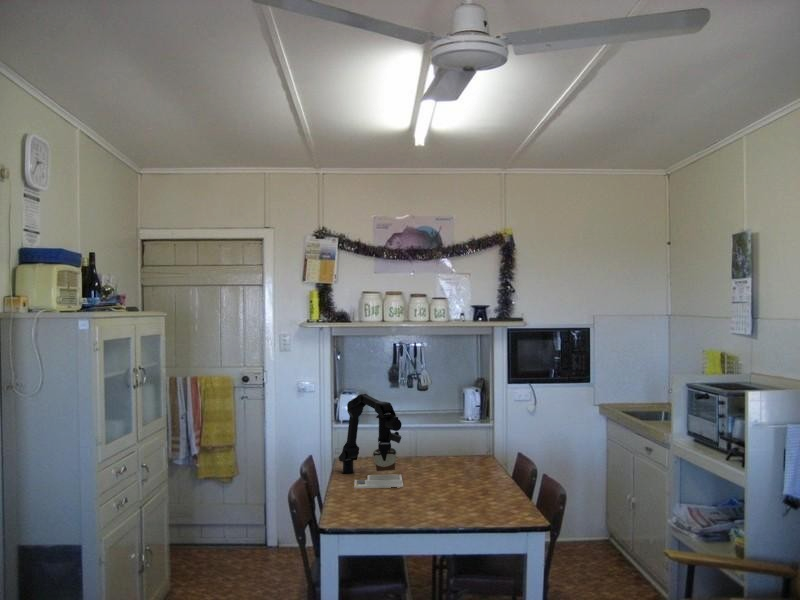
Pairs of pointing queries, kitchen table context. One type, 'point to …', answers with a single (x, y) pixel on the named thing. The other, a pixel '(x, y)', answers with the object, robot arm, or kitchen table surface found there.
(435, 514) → the kitchen table surface
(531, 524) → the kitchen table surface
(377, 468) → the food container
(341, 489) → the kitchen table surface
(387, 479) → the dock
